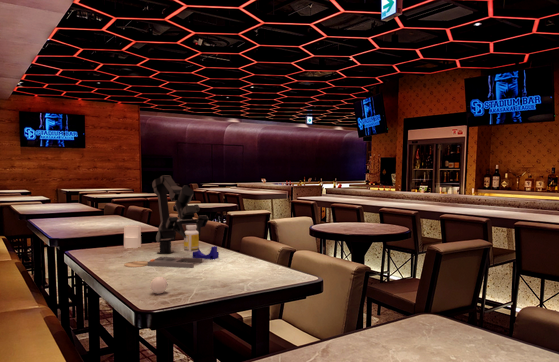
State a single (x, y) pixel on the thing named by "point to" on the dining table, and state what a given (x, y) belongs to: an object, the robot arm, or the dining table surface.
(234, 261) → the dining table surface
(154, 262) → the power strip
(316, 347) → the dining table surface
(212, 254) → the cable clip
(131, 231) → the cylinder with rectangular tab
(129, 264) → the cork coaster
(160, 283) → the plastic egg
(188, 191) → the robot arm
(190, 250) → the pill bottle
